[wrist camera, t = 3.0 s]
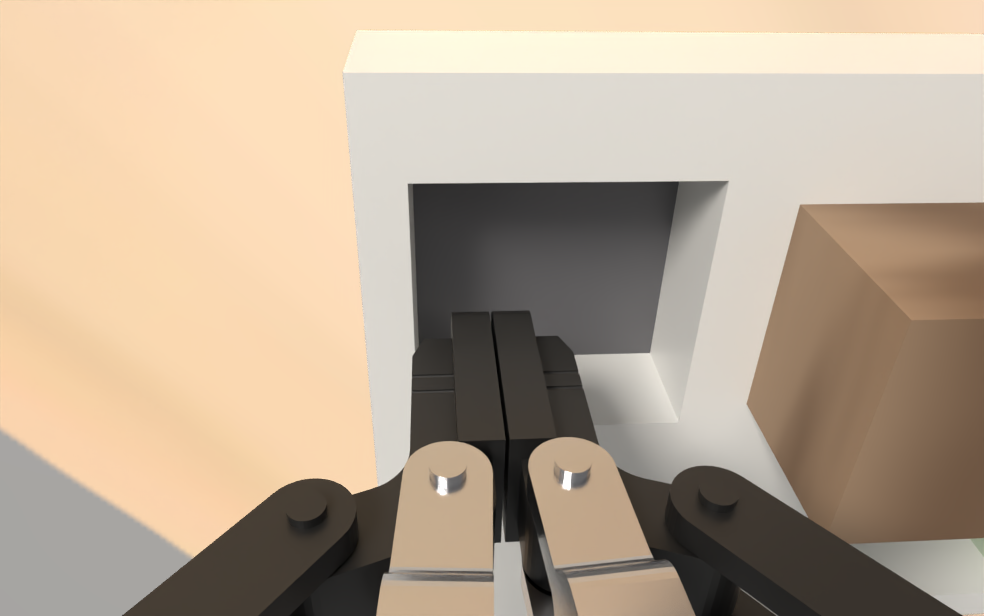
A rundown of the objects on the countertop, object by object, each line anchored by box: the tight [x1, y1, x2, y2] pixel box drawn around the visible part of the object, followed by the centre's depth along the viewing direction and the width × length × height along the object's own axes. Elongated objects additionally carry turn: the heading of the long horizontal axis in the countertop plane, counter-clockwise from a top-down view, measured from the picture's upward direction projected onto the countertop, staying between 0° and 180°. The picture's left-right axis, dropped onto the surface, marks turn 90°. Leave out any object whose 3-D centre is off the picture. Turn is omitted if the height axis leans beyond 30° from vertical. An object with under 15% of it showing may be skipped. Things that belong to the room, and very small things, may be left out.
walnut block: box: [747, 202, 984, 544], centre depth 14 cm, size 5×5×4 cm
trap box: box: [343, 30, 984, 616], centre depth 18 cm, size 25×16×5 cm, turn 89°
